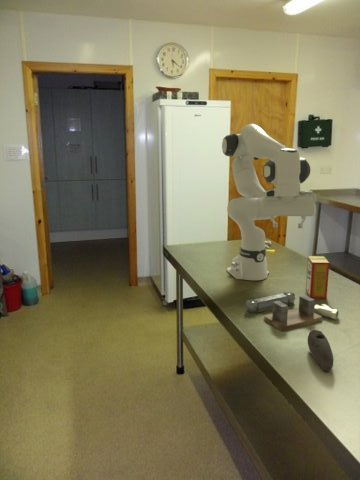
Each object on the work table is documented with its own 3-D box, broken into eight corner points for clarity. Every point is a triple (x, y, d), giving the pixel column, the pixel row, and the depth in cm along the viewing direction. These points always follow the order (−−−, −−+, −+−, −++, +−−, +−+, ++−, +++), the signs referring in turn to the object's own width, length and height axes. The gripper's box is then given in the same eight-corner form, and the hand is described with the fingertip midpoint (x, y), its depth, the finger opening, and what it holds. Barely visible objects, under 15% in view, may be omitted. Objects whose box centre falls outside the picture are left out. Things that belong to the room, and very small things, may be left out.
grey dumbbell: (243, 310, 145) (244, 300, 144) (289, 300, 153) (289, 291, 152) (250, 314, 141) (250, 304, 140) (296, 304, 149) (297, 294, 148)
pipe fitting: (319, 310, 144) (312, 315, 139) (320, 301, 144) (313, 305, 138) (340, 316, 139) (334, 321, 134) (342, 306, 138) (336, 311, 133)
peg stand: (264, 319, 136) (264, 300, 135) (302, 310, 143) (303, 292, 142) (281, 331, 127) (282, 310, 126) (322, 320, 134) (323, 301, 133)
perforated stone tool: (338, 377, 101) (340, 354, 100) (318, 376, 102) (319, 353, 100) (323, 349, 116) (324, 328, 114) (305, 348, 116) (306, 328, 115)
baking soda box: (326, 299, 153) (329, 261, 150) (310, 298, 154) (312, 261, 151) (321, 290, 163) (323, 255, 159) (305, 290, 163) (307, 255, 160)
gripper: (318, 190, 140) (317, 227, 142) (264, 192, 149) (264, 226, 151) (315, 191, 134) (314, 229, 136) (259, 192, 144) (259, 228, 146)
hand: (287, 227), depth 144 cm, fingers open, 8 cm apart
